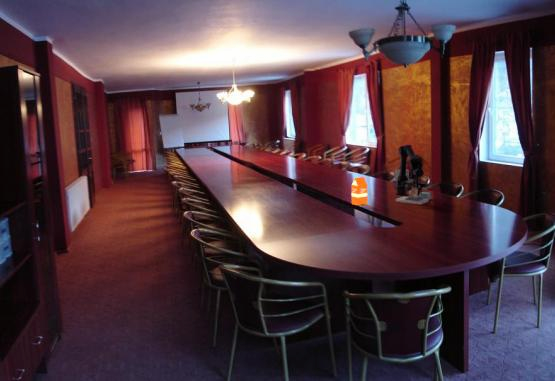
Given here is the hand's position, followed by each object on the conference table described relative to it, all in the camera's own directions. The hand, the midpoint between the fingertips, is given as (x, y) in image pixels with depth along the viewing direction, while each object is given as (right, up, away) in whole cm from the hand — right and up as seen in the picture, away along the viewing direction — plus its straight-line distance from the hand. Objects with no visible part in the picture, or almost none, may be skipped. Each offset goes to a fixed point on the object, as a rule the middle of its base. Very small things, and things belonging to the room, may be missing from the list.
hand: (414, 195), depth 355 cm
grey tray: (-1, -4, +2) cm, 5 cm away
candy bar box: (+5, +5, +55) cm, 55 cm away
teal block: (+11, -3, +9) cm, 14 cm away
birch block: (0, -1, 0) cm, 1 cm away
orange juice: (-40, -6, +1) cm, 41 cm away
